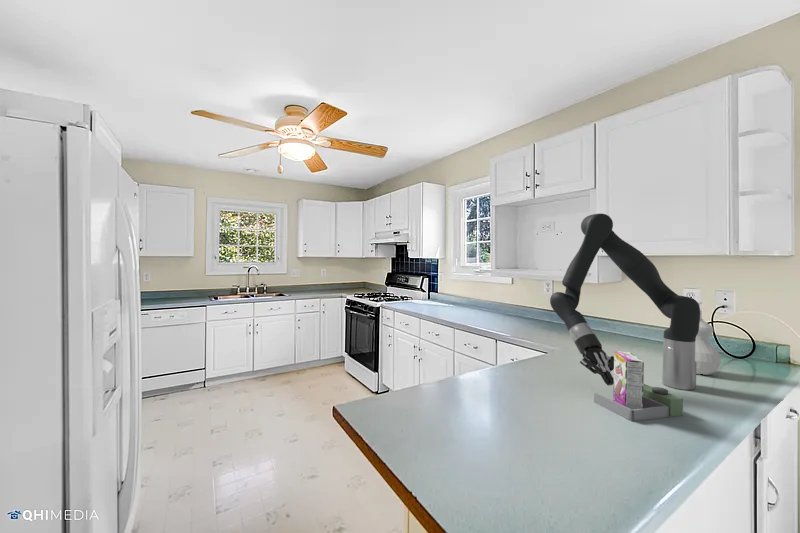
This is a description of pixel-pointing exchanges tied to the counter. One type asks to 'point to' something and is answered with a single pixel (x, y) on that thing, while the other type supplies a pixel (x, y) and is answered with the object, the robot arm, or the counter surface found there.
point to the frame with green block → (646, 405)
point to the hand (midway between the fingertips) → (611, 384)
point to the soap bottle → (705, 350)
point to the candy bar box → (628, 380)
